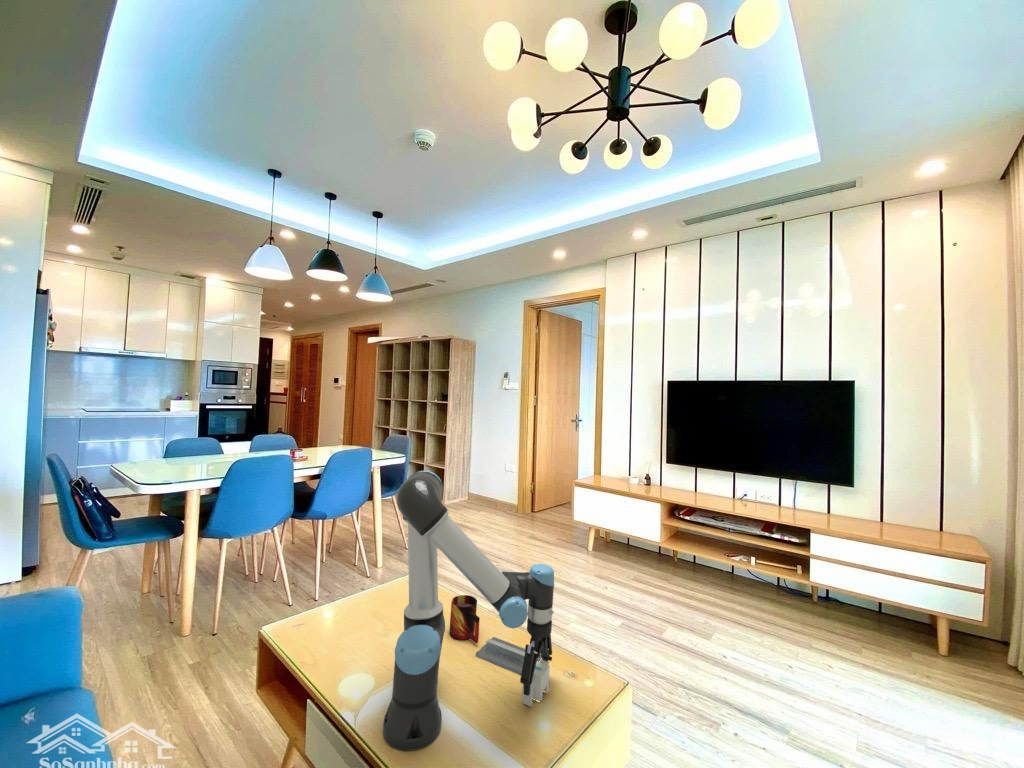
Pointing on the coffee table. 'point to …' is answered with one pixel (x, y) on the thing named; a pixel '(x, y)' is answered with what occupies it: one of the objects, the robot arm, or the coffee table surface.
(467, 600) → the mug
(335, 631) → the coffee table surface
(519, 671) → the rail plate
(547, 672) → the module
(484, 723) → the coffee table surface
